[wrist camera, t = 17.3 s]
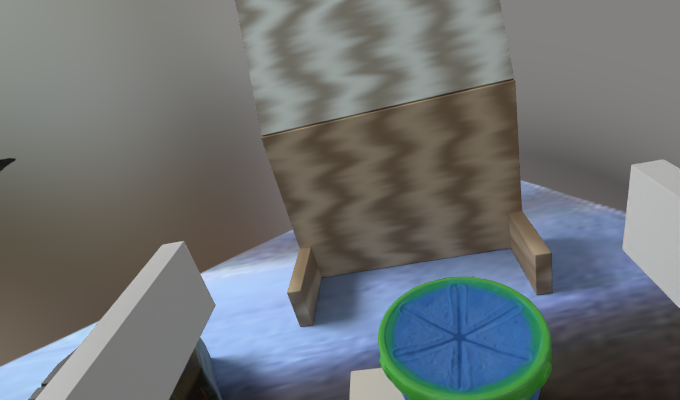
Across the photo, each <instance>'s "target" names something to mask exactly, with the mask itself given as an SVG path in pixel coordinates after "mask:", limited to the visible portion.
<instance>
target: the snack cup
mask: <svg viewBox="0 0 680 400" xmlns="http://www.w3.org/2000/svg"><path fill="white" fill-rule="evenodd" d="M378 344H379V351H380V355H381V359H380V365H381V367H382V369H383V371H384V373H385V375H386V376H387V378H388V379H389V380H390V381H391V382H392V383H393V384H394V385H395V387H396V388H397V389H398V390H399V391H400V392H401V394H402V395H403V397H404V399H405V400H538V399H539V394H540V389H541V387H542V386H544V384H545V383H546V381H547V379H548V378H549V375H550V373H551V369H552V365H551V358H552V344H551V336H550V331H549V328H548V325H547V323H546V321H545V319H544V317H543V315H542V314H541V313H540V311H539V310H538V309H537V307H536V306H535V305H534V304H533V303H532V302H531V301H530V300H529V299H527V298H526V297H525V296H523V295H522V294H520V293H519V292H517V291H515V290H514V289H512V288H510V287H508V286H505V285H503V284H500V283H497V282H494V281H490V280H486V279H480V278H474V276H473V277H451V278H443V279H439V280H435V281H431V282H427V283H425V284H422V285H419V286H417V287H415V288H413V289H411V290H410V291H408V292H406V293H405V294H404V295H402V296H401V297H400V298H398V299H397V300H396V301H395V302H394V303H393V304H392V305H391V306H390V308H389V309H388V310H387V312H386V313H385V315H384V317H383V319H382V322H381V324H380V327H379V333H378Z"/></svg>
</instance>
